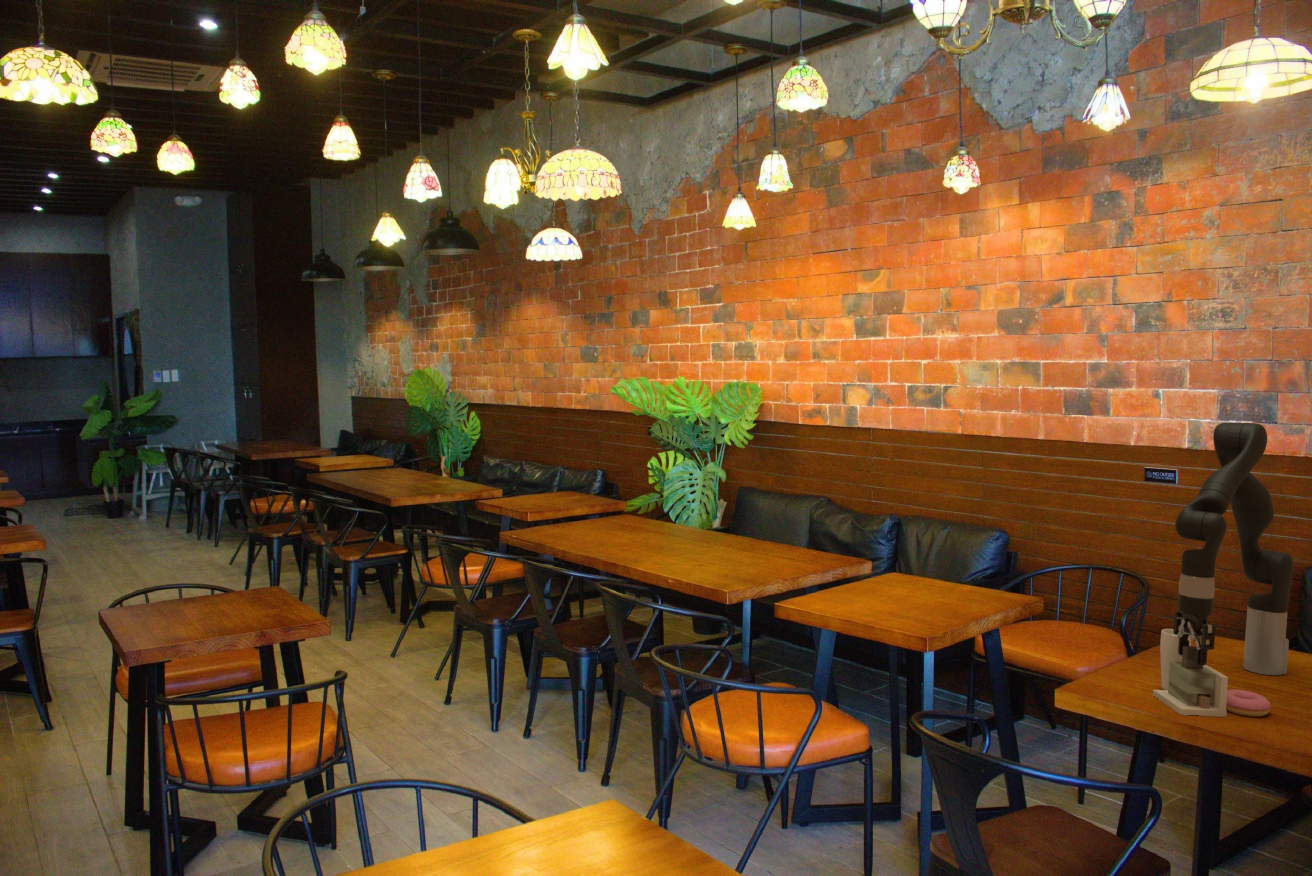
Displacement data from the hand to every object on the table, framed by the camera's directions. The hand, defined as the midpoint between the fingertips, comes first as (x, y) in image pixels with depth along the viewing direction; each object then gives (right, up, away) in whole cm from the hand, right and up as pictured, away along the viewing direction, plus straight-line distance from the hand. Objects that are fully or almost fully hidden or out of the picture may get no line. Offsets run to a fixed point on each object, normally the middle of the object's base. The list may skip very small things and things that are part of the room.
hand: (1191, 659), depth 232 cm
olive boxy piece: (0, -10, +1) cm, 10 cm away
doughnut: (+12, -12, -1) cm, 17 cm away
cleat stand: (0, -11, +1) cm, 11 cm away
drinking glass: (+2, -11, +13) cm, 17 cm away
